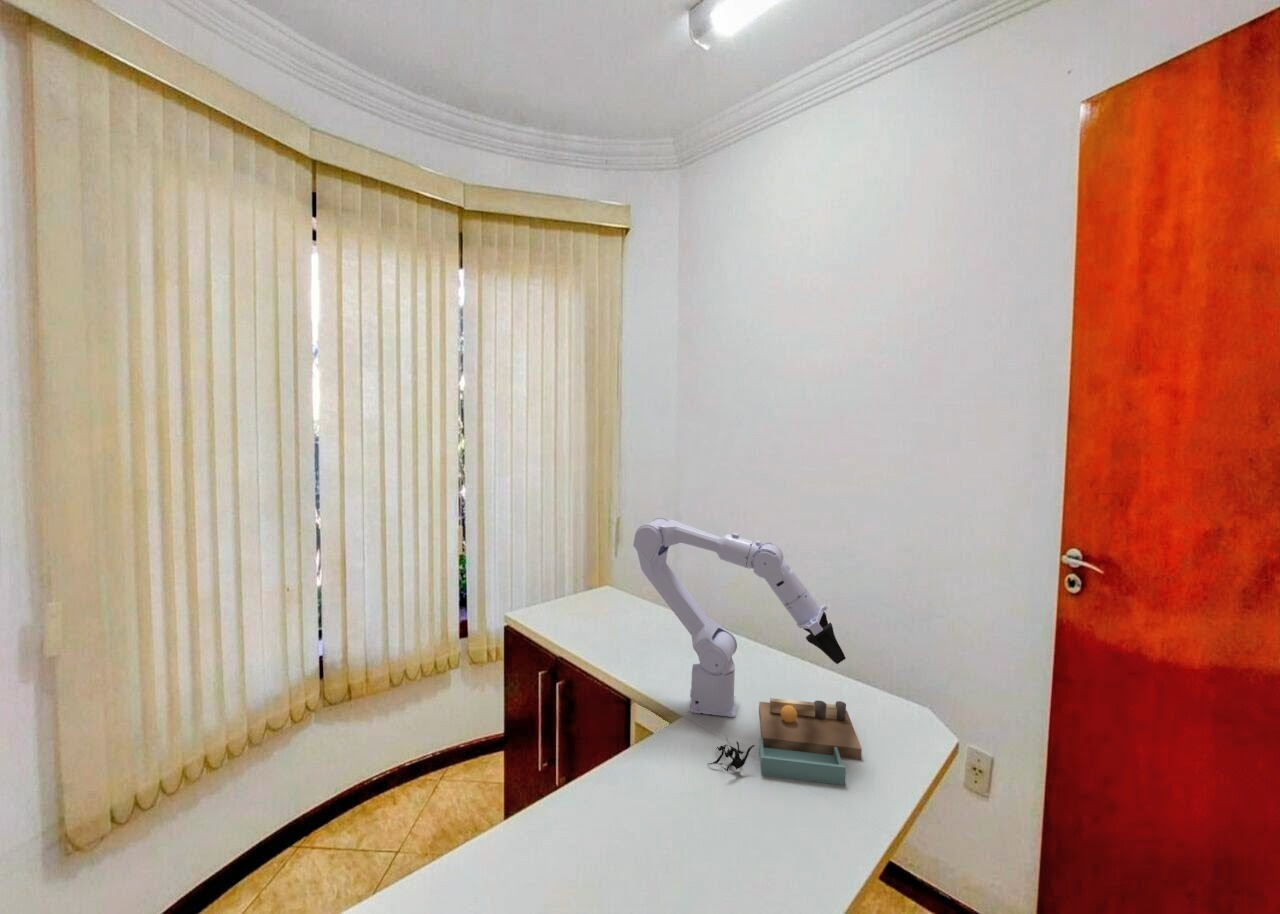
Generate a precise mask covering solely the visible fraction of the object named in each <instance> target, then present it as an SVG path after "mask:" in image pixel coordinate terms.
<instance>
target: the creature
mask: <svg viewBox="0 0 1280 914" xmlns="http://www.w3.org/2000/svg"><path fill="white" fill-rule="evenodd" d="M726 735H727V734H725V735H724V736H725V738H726V742H727V744H724V745H720V746H719V747H718V746H717V747H716V748H715V749H714V750H717V749H718V751H719V752H721V754H720V755H719V756H718V757H717V759H716V760H714V761H713V762H710V763H709V762H708V763H707V765H713V764H720V765H721V768H723V769H724V770H725V771H726V772H728V771H729V768H730V767H733V768H735V769H736V770H739V769H741V768H742V767H744V765H745V764H746V761H747V759H748V757H749V755H750V751H751V750H752V748H753V747H754V748H755V747H756V745H755V744H753V745H750V746H749V747H748V748H747V749H746V753H745V751H742V750H740V743H739V742H738V740H736V745H737V748H735V747H733V746H731V745H730V743H729V741H728V738H727V736H726ZM726 747H727V751H726ZM729 747H730V748H729ZM744 753H745V755H744V757H743V759H742V758H741V756H740V755H743V754H744ZM733 755H734V757H733ZM723 756H724V757H725V758H727V759H729V758H730V759H731V760H732V761H731V762H730V764H728V766H727V768H725V767H724V766H723V763H722V762H721V763H720V761H721V759H722V758H723Z"/></svg>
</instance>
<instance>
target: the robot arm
mask: <svg viewBox="0 0 1280 914" xmlns="http://www.w3.org/2000/svg"><path fill="white" fill-rule="evenodd" d="M633 539H634V540H633V544H632V546H633V547H634V549H635V550H636V551H637V557H638V561H639V564H640V569H641V571H642V573H643V575H644V576H645V577H646V578H647V579H648V581H649V582H650V583H651V585H652V587H654V589H655V590H656V592H657V593H658V594H659V595H660V596H661V598H662V599H663V601H664V602H665V603H666V604H667V605H668V607H669V608H670V609H671V611H672V612H673V613H674V615H675V616H676V617H677V619H678V620H679V621H680V622H681V624H682V625H683V627H684V628H685V629H686V630H687V632H688V633H689V634H690V635H691V641H692V648H693V650H694V651H695V653H696V655H697V657H698V661H699V663H692V666H691V667H692V669H691V682H690V683H691V688H690V697H689V698H690V712H691V713H692V712H694V713H693V714H700V713H703V714H702V715H710V714H711V715H713V716H722V717H731V718H735V717H736V715H737V714H736V713H737V710H736V709H737V708H736V705H737V704H736V696H735V678H736V677H735V675H736V674H735V670H736V665H735V663H734V660H733V656H734V655H735V653H736V652H737V648H738V641H737V639H736V637H735V635H734V634H733V633H731V632H730V631H729V630H727V629H725V628H723V627H722V625H721V624H720V623H719V621H718V622H717V621H716V620H713V619H711V618H709V616H708V615H707V613H706V612H705V611H704V610H703V609H702V608H701V606H700V605H699V603H698V602H697V601H696V600H695V598H694V597H693V596H692V594H691V593H690V591H688V589H687V588H686V586H685V585H684V584H683V583H682V582H681V580H680V579H679V578H678V577H677V576H676V574H675V572H674V571H673V570H672V568H670V566H669V565H668V564H667V558H668V550H669V547H671V546H674V545H677V544H683V545H684V544H685V545H689V546H692V547H697V548H700V549H704V550H708V551H711V552H713V553H714V552H715V553H716V555H717V556H718V558H719V559H720V560H721V561H725V562H728V563H730V564H734V565H737V566H739V567H743V568H747V569H748V570H750V569H752V570H753V574H755V575H756V576H758V577H759V578H763V579H764V580H765V581H766V582H767V583H766V584H768V585H769V587H770V589H771V590H772V591H773V593H774V594H775V595H776V597H777V598H778V599H779V601H780V602H781V603H782V605H783V606H784V608H785V610H787V612H788V613H789V614H790V616H791V617H792V619H793V620H794V621H795V623H796V625H797V627H798V628H800V629H803V630H804V631H806V632H808V633H809V634H808V635H806V636H805V640H806V641H807V642H808V643H810V644H811V645H813V646H815V647H816V648H818V649H819V650H821V651H822V652H823V653H824V654H825V655H826V656H827V657H828V658H829V659H830V660H831V661H832V662H833V663H835V664H836V665H839V664H840V663H842V662H843V661H845V660H846V655H845V654H844V651H843V650H842V647H841V646H840V644H839V642H838V640H837V638H836V636H835V632H834V627H833V624H832V622H829V623H828V618H827V614H826V612H825V611H826V610H828V609H829V608H828V605H826V603H823V604H822V605H819V604H818V603H817V601H816V599H815V598H814V597H813V595H811V593H810V591H809V590H808V589H807V588H806V586H805V585H804V584H803V582H802V581H801V580H800V578H799V577H798V576H797V574H796V573H795V571H793V569H791V566H789V564H788V563H787V562H786V560H784V553H783V552H782V549H781V548H780V547H779V546H778V545H776V544H773V543H772V542H770V541H769V542H763V543H762V541H761V540H758V539H757V540H756V541H754V540H750V539H746V538H744V537H740V533H738V532H733V533H731V534H730V533H727V534H725V535H723V536H718V535H715V534H713V533H710V532H707V531H704V530H701V529H700V528H696V527H693V526H690V525H687V524H685V523H683V522H680V521H677V520H676V519H668V518H665V517H657V518H655V519H653V520H652V521H650V522H648V523H646V524H642V525H641V526H639V527H638V528H637V529H636V531H635V534H634V538H633ZM711 715H710V716H711Z"/></svg>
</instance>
